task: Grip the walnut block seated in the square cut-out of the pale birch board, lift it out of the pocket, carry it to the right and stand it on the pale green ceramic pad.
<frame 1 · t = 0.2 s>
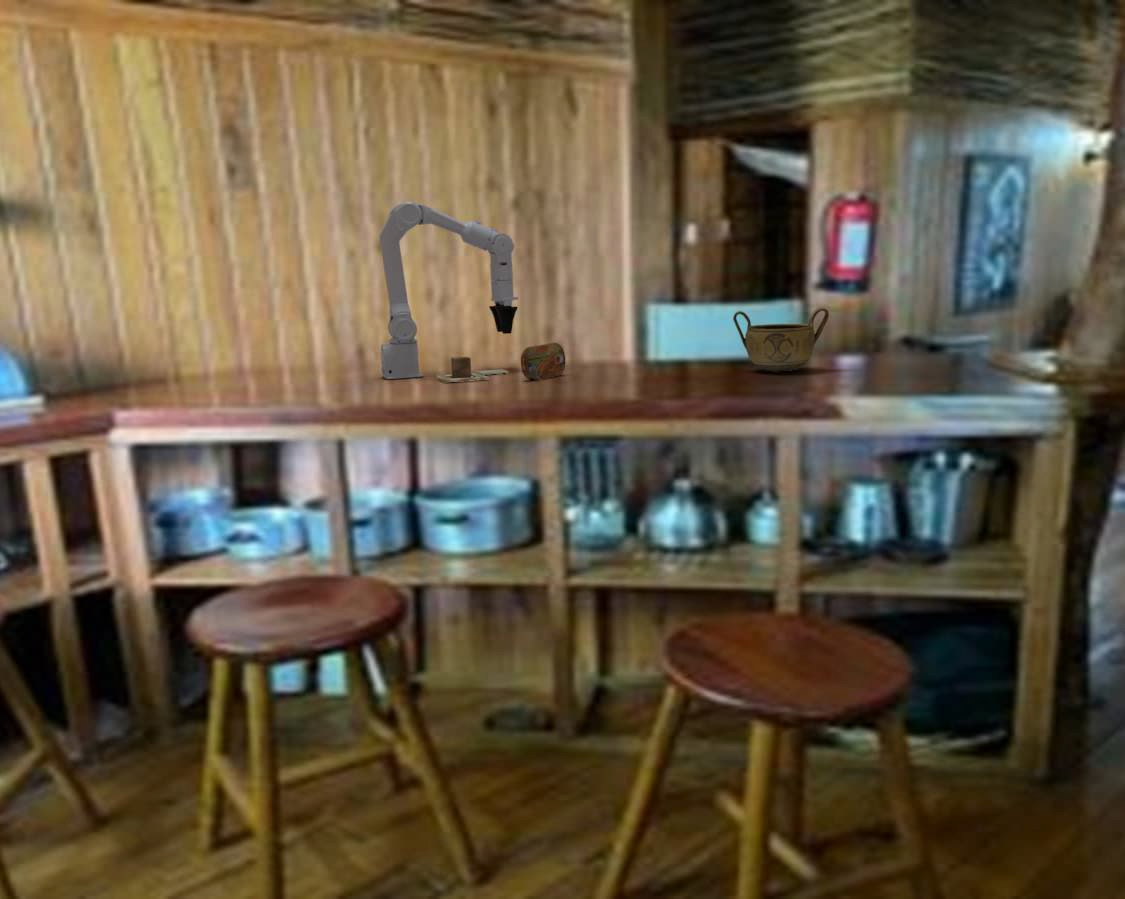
hand: (504, 332, 260), 10 cm above the countertop, tool pointing down, fingers open, 7 cm apart
walnut block: (461, 379, 245), resting in pocket board
ceramic pad: (492, 373, 256), on the countertop
pocket board: (461, 379, 245), on the countertop
tin: (543, 379, 242), on the countertop
ceramic bowl: (780, 372, 238), on the countertop
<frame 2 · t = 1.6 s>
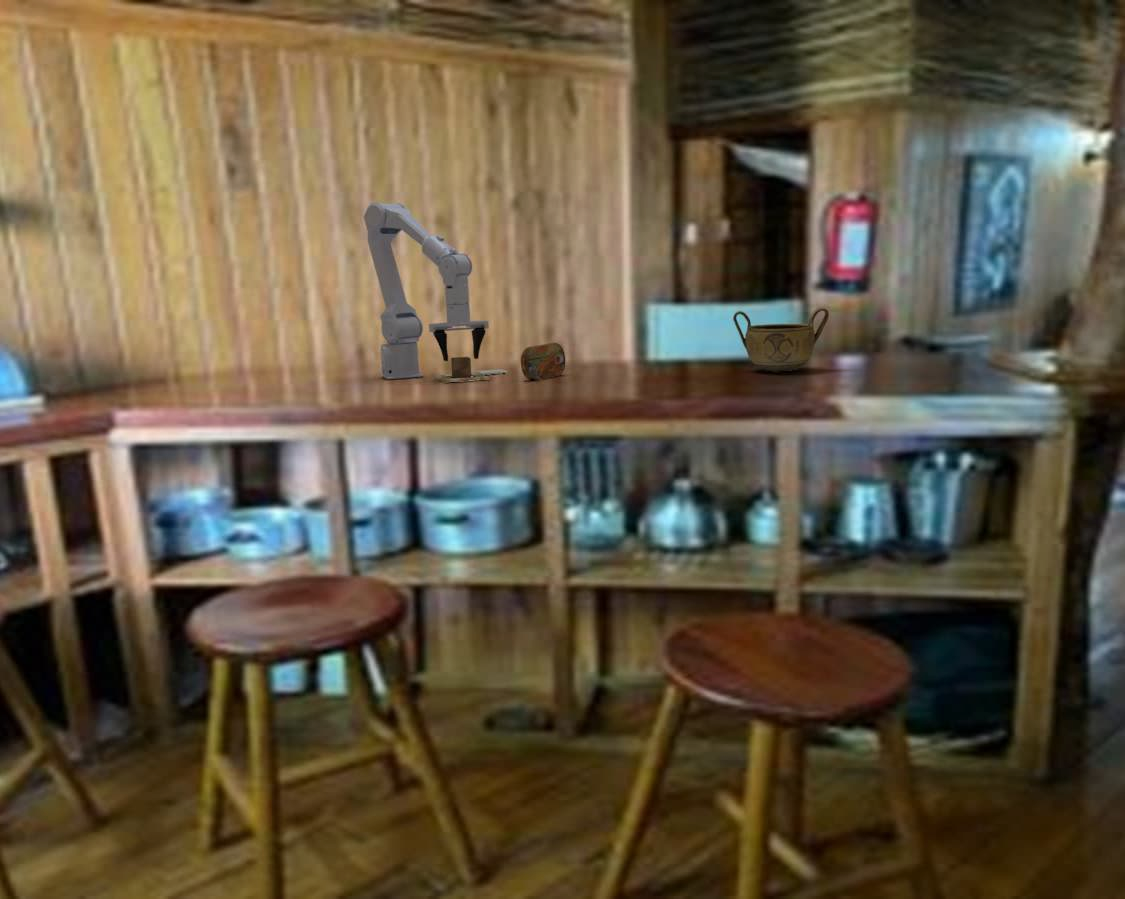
hand: (461, 359, 244), 5 cm above the countertop, tool pointing down, fingers open, 7 cm apart
nothing on the countertop moved.
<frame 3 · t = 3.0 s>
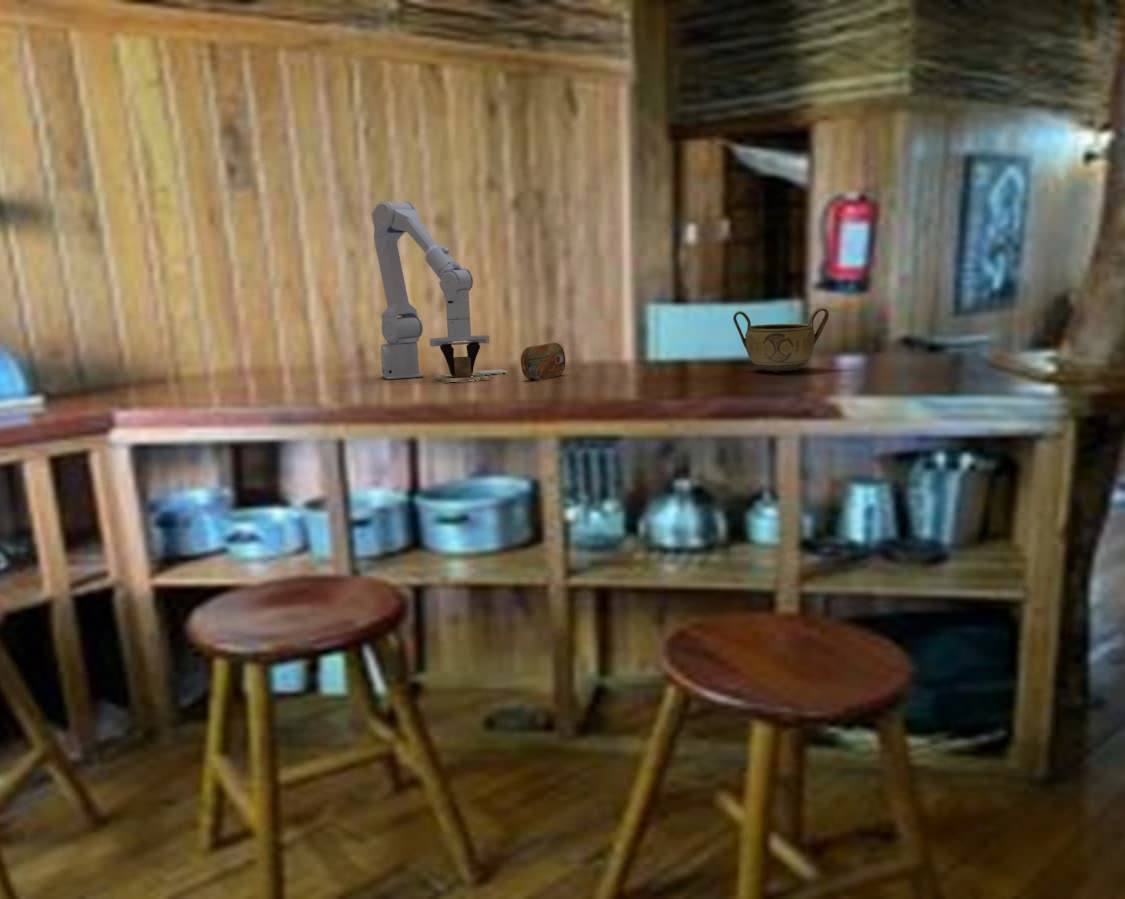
hand: (461, 374, 244), 1 cm above the countertop, tool pointing down, fingers closed on walnut block, 4 cm apart
walnut block: (461, 379, 245), resting in pocket board, touching gripper
everything else where it was.
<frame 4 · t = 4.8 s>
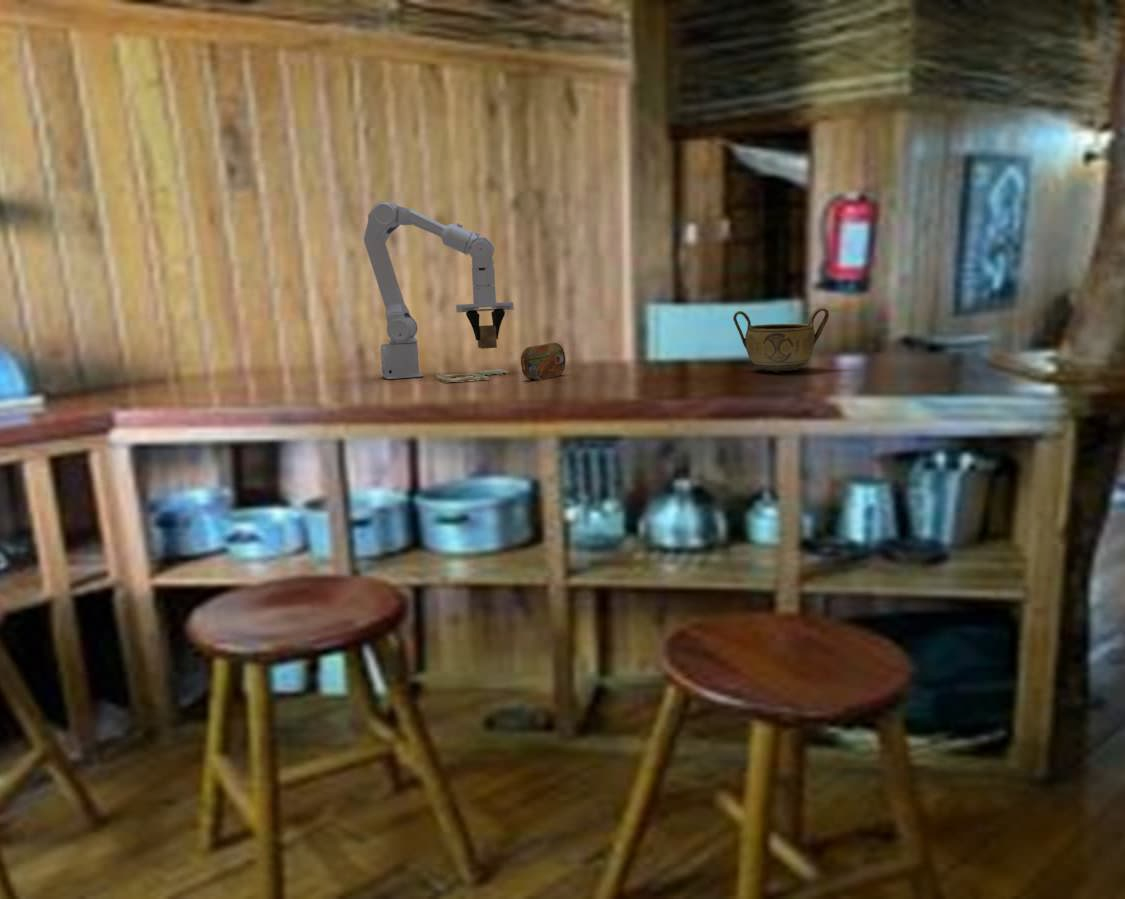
hand: (486, 339, 253), 9 cm above the countertop, tool pointing down, fingers closed on walnut block, 4 cm apart
walnut block: (487, 347, 253), point 7 cm above the countertop, touching gripper
everything else where it was.
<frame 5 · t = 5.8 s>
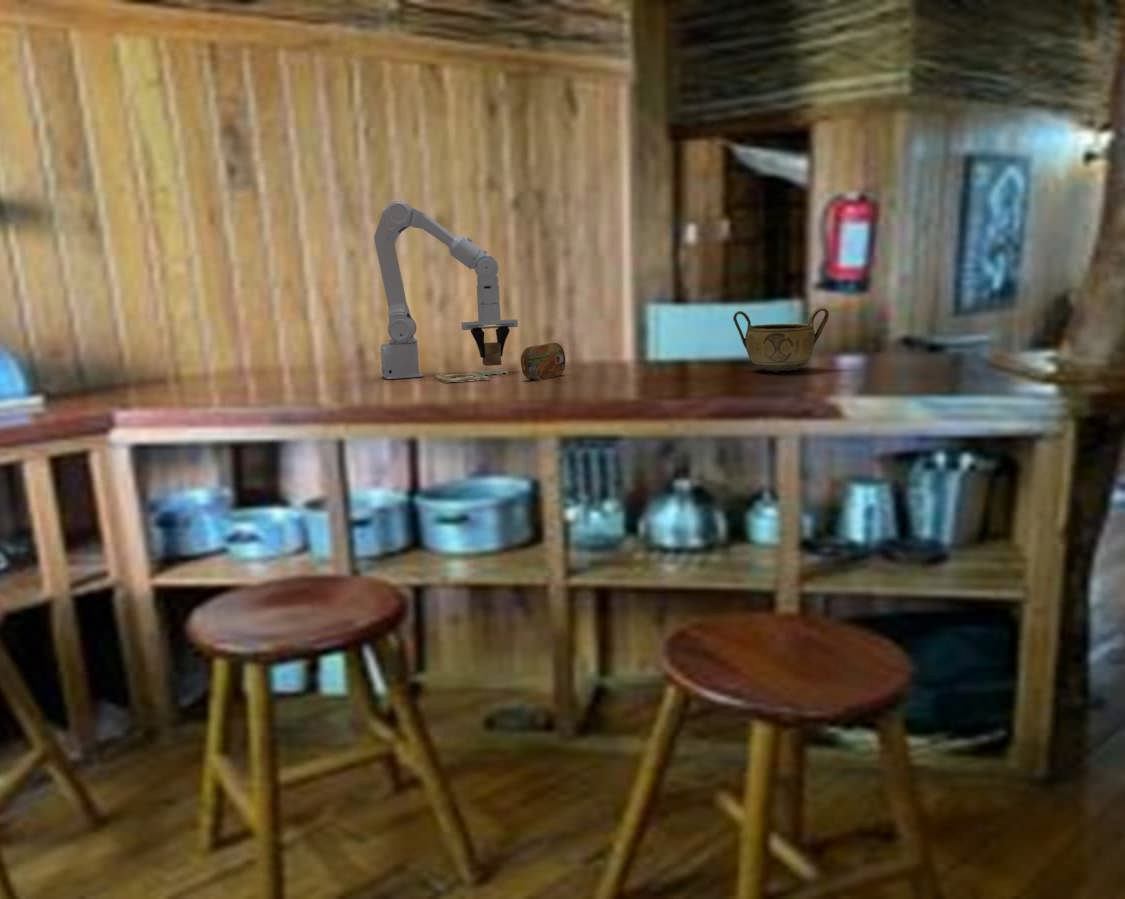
hand: (491, 356, 255), 4 cm above the countertop, tool pointing down, fingers closed on walnut block, 4 cm apart
walnut block: (492, 364, 255), point 2 cm above the countertop, touching gripper
everything else where it was.
when the fingers open (3 cm above the countertop, at t = 6.8 s): walnut block stays where it is, resting on ceramic pad.
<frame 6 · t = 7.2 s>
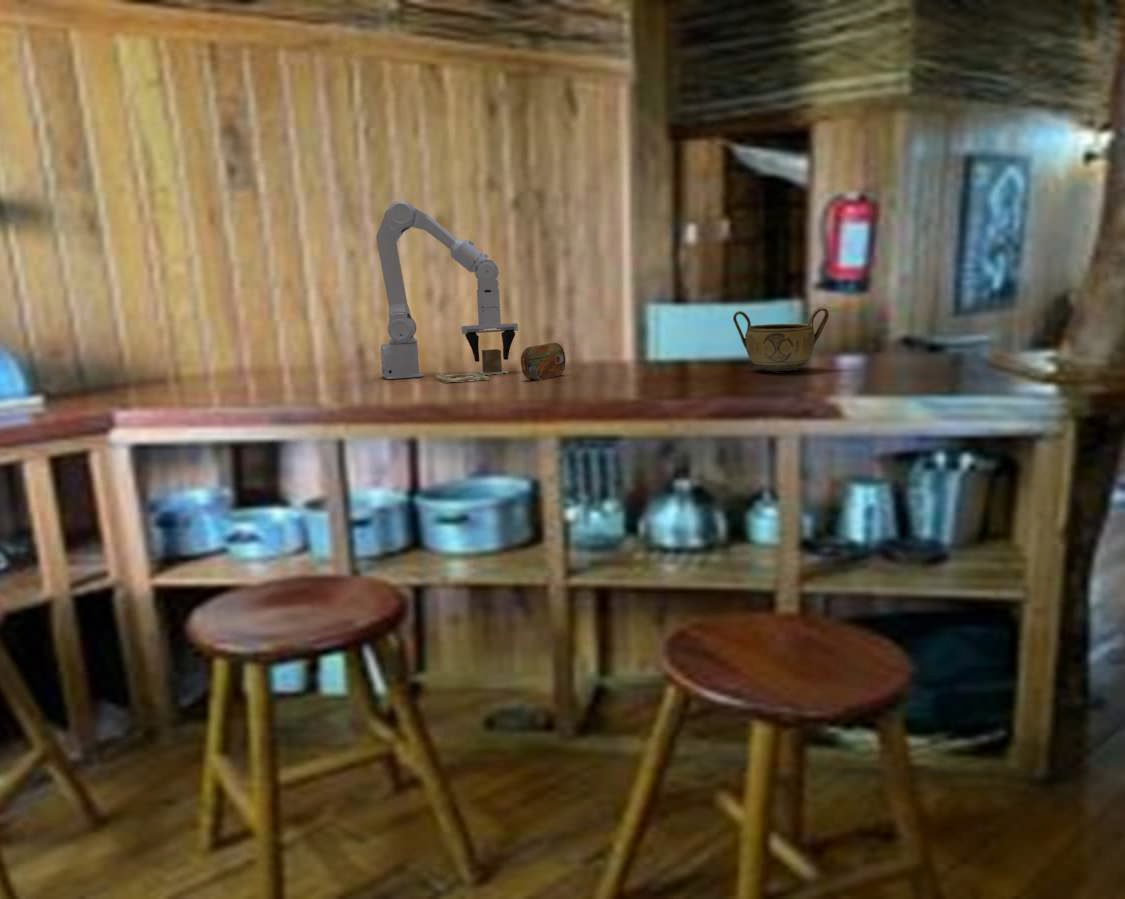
hand: (491, 360, 255), 3 cm above the countertop, tool pointing down, fingers open, 7 cm apart
walnut block: (492, 371, 255), point 1 cm above the countertop, touching ceramic pad
everything else where it was.
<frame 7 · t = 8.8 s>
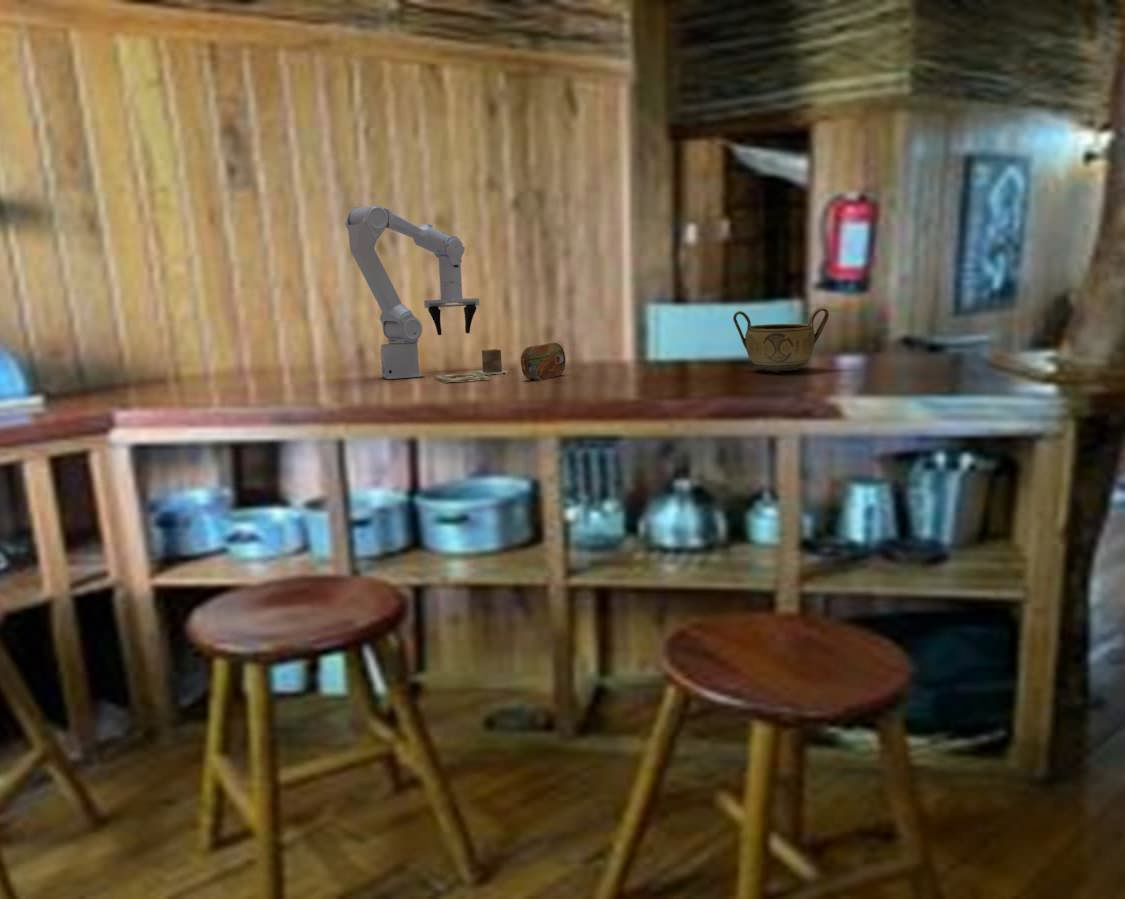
hand: (453, 334, 264), 10 cm above the countertop, tool pointing down, fingers open, 7 cm apart
nothing on the countertop moved.
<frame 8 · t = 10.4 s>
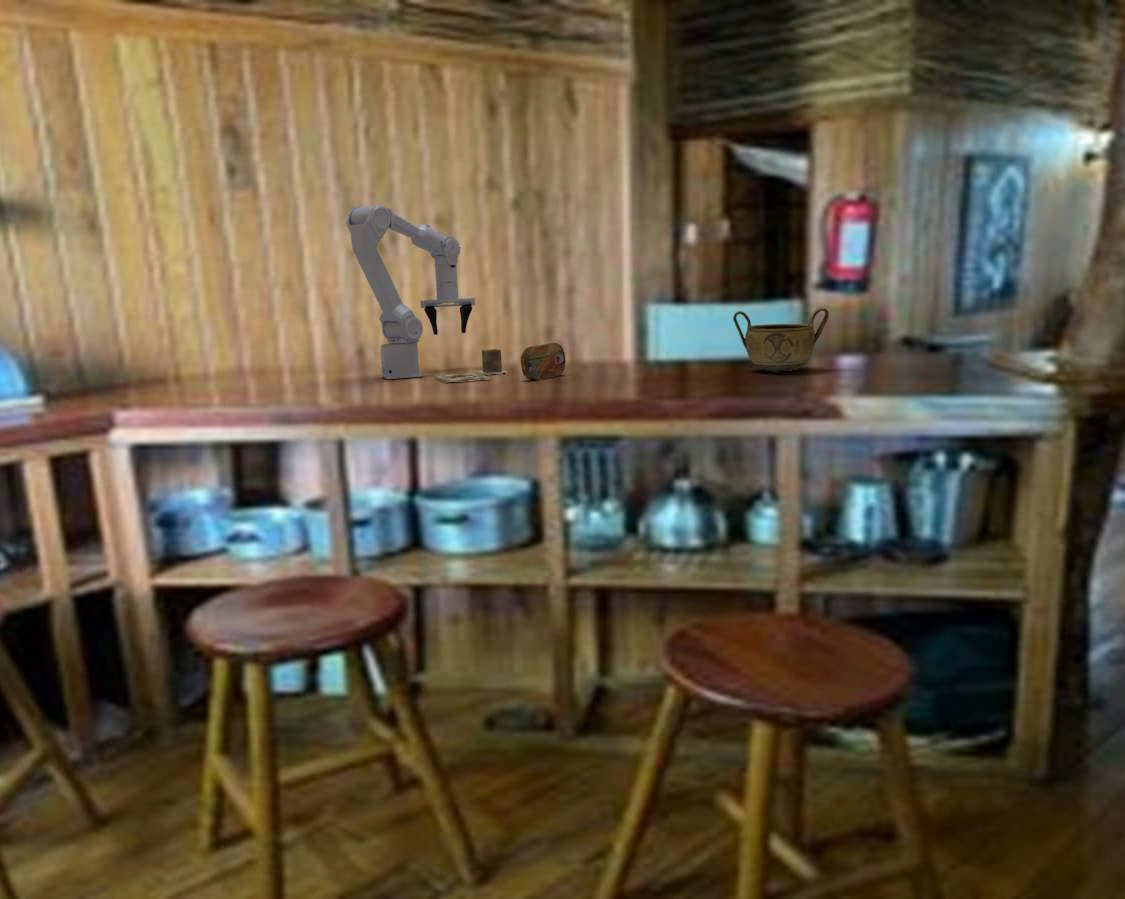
hand: (449, 333, 265), 10 cm above the countertop, tool pointing down, fingers open, 7 cm apart
nothing on the countertop moved.
at the end: walnut block inside the target area on the ceramic pad (0.3 cm from its centre), point 0.6 cm above the ceramic pad's base; walnut block tilted 0°; the gripper is holding nothing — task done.
